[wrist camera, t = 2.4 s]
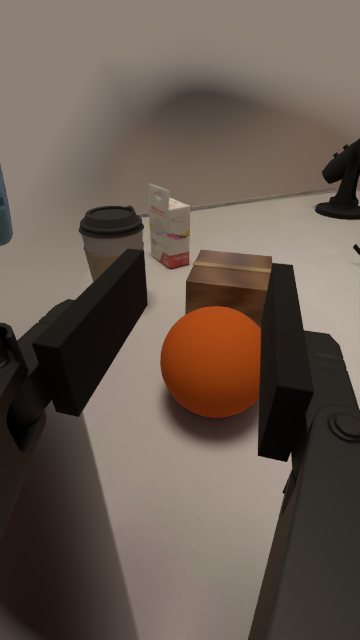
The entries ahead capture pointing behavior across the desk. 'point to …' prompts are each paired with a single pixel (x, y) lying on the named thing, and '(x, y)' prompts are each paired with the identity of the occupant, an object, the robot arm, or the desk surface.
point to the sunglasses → (357, 249)
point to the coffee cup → (109, 235)
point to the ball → (213, 361)
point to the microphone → (343, 184)
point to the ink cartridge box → (168, 228)
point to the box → (229, 282)
